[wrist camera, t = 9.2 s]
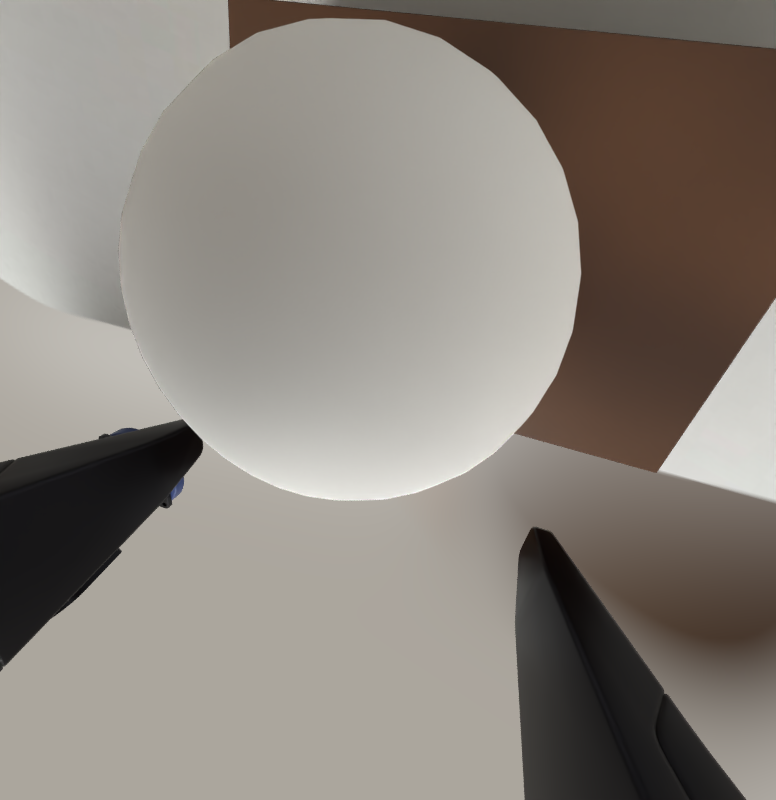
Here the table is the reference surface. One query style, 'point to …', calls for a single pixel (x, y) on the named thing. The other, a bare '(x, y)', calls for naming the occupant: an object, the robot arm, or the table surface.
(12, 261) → the table surface
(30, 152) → the table surface
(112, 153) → the table surface
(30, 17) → the table surface
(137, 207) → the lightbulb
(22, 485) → the robot arm
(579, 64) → the dark wooden block
